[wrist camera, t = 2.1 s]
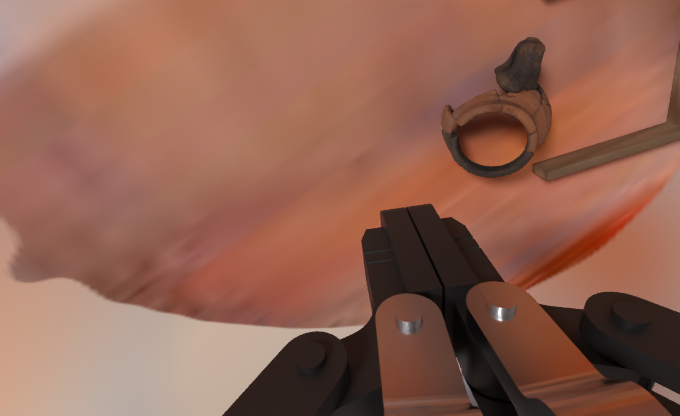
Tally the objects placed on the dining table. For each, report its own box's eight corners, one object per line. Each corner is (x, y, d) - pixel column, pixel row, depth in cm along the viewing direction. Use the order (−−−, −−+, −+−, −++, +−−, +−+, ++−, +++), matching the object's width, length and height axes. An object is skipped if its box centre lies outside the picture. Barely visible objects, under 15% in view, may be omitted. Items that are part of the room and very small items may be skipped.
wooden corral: (528, -26, 30) (547, -31, 27) (712, -86, 29) (746, -96, 27) (532, 172, 38) (547, 180, 36) (673, 128, 38) (697, 133, 36)
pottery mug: (528, 148, 38) (532, 194, 32) (440, 134, 40) (428, 174, 34) (577, 27, 30) (594, 59, 24) (463, 19, 32) (453, 47, 26)
